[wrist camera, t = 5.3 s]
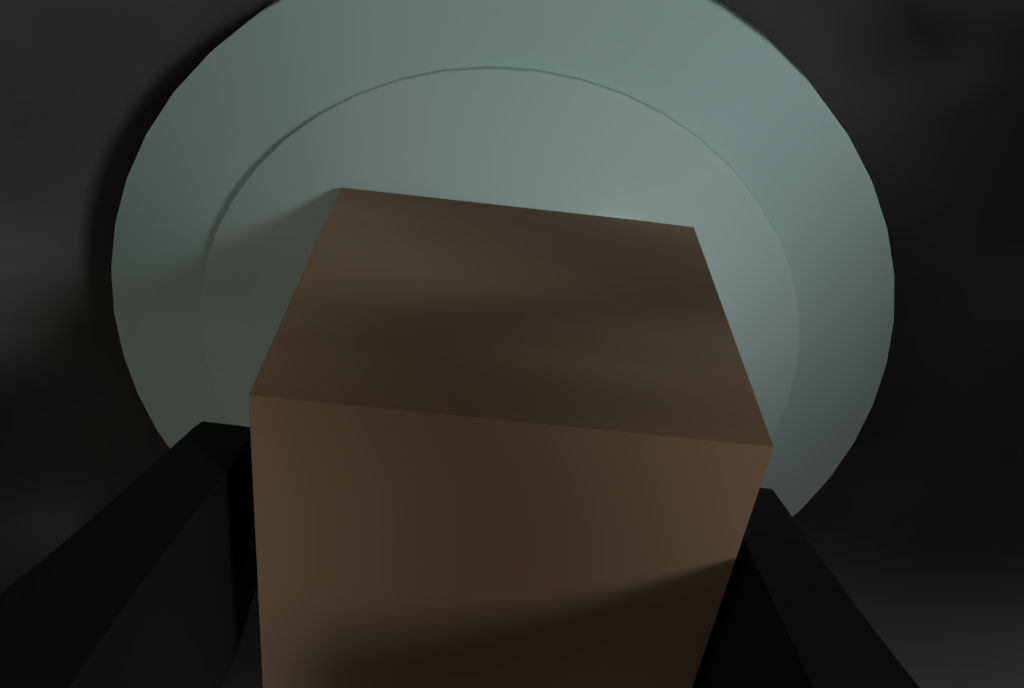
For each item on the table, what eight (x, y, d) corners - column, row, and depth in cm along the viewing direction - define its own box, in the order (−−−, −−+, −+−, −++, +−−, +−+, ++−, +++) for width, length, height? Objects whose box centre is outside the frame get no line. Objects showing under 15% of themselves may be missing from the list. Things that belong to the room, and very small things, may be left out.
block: (693, 225, 12) (773, 447, 8) (630, 492, 14) (668, 759, 10) (340, 187, 12) (248, 395, 8) (336, 464, 14) (264, 727, 10)
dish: (998, -3, 11) (1042, 21, 10) (760, 606, 17) (773, 659, 16) (93, -124, 11) (45, -111, 10) (172, 537, 17) (147, 588, 16)
